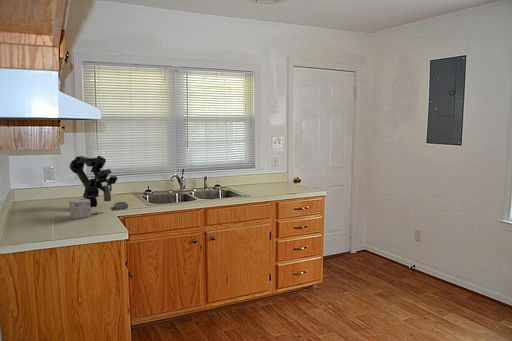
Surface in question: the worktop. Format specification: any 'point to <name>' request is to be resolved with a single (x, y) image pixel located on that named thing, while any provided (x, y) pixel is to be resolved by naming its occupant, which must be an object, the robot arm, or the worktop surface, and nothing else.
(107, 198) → the charger
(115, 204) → the charging dock
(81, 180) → the robot arm
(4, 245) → the worktop surface
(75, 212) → the light bulb box
